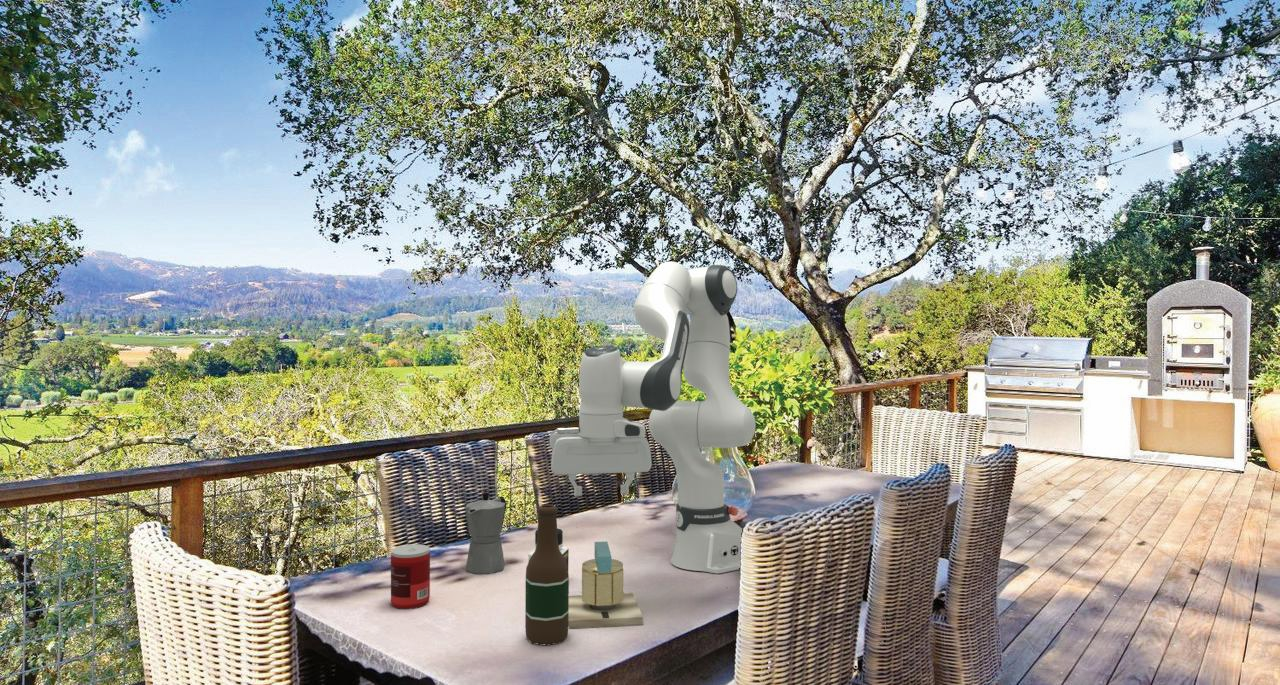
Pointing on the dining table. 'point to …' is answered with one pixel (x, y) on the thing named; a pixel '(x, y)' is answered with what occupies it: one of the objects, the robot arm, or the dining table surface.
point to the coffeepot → (485, 535)
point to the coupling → (602, 578)
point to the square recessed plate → (604, 613)
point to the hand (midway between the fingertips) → (601, 494)
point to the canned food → (410, 576)
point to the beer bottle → (547, 584)
